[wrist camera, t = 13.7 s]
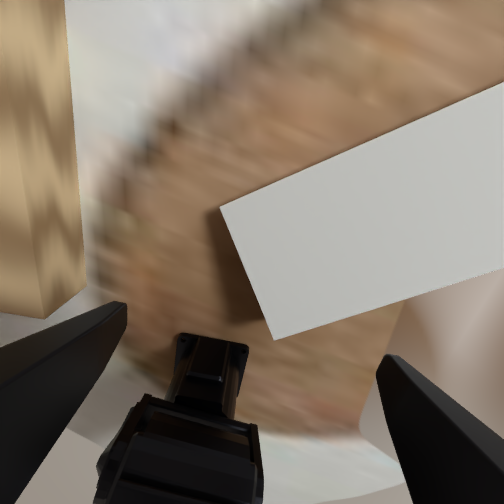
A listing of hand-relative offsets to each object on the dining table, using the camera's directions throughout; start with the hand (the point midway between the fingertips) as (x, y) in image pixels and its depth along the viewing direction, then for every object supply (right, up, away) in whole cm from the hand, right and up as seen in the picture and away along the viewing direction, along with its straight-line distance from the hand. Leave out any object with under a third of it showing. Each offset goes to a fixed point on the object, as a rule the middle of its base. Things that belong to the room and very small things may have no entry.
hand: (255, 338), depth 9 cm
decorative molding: (+16, +8, +10) cm, 20 cm away
